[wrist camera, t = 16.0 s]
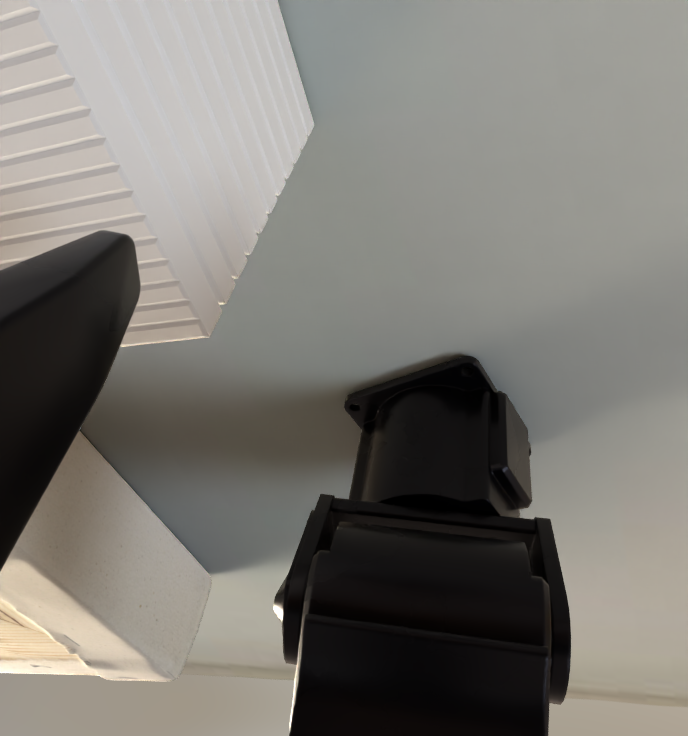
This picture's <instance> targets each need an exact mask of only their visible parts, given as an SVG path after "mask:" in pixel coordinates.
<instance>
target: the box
mask: <svg viewBox="0 0 688 736" xmlns="http://www.w3.org/2000/svg"><path fill="white" fill-rule="evenodd" d="M211 581H212V580H211V577H210V575H209V574H208V572H207V571H206V570H205V569H204V568H203V567H202V566H201V564H200V563H199V562H198V561H197V560H196V559H195V558H194V557H193V556H192V554H191V553H190V552H189V551H188V550H187V549H186V548H185V547H184V546H183V545H182V544H181V542H180V541H179V540H178V539H177V538H176V537H175V536H174V535H173V534H172V532H171V531H170V530H169V529H168V528H167V527H166V526H165V525H164V524H163V523H162V521H161V520H160V519H159V518H158V517H157V516H156V515H155V514H154V513H153V512H152V511H151V510H150V508H149V507H148V506H147V504H146V503H145V502H144V501H143V500H142V499H141V498H140V497H139V496H138V495H137V494H136V493H135V492H134V490H133V489H132V488H131V487H130V486H129V485H128V484H127V483H126V482H125V481H124V480H123V478H122V477H121V476H120V475H119V474H118V473H117V472H116V471H115V470H114V469H113V467H112V466H111V465H110V464H109V463H108V462H107V461H106V460H105V459H104V458H103V457H102V455H101V454H100V453H99V452H98V451H97V450H96V449H95V447H94V446H93V445H92V444H91V443H90V442H89V441H88V440H87V438H86V437H85V436H84V435H83V434H82V433H81V432H80V431H79V432H78V433H77V435H76V437H75V439H74V441H73V442H72V444H71V446H70V448H69V450H68V451H67V453H66V455H65V457H64V458H63V460H62V462H61V464H60V466H59V467H58V469H57V471H56V473H55V475H54V476H53V478H52V480H51V482H50V484H49V485H48V487H47V489H46V491H45V493H44V494H43V496H42V498H41V500H40V502H39V503H38V505H37V507H36V509H35V511H34V512H33V514H32V516H31V518H30V519H29V521H28V523H27V525H26V527H25V528H24V530H23V532H22V534H21V536H20V537H19V539H18V541H17V543H16V545H15V546H14V548H13V550H12V552H11V554H10V555H9V557H8V559H7V561H6V563H5V564H4V566H3V568H2V570H1V571H0V673H32V674H70V675H100V676H101V677H102V678H105V679H108V680H140V681H174V680H176V679H177V678H178V677H179V676H180V675H181V673H182V670H183V668H184V666H185V663H186V661H187V658H188V655H189V653H190V650H191V648H192V645H193V642H194V640H195V637H196V634H197V632H198V628H199V625H200V622H201V619H202V616H203V613H204V609H205V606H206V603H207V600H208V596H209V593H210V588H211V584H212V582H211Z"/></svg>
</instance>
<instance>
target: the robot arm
mask: <svg viewBox="0 0 688 736" xmlns="http://www.w3.org/2000/svg"><path fill="white" fill-rule="evenodd" d="M140 289H141V284H140V276H139V269H138V262H137V255H136V248H135V244H134V241H133V239H132V238H131V237H130V236H129V235H127V234H123V233H117V232H112V231H107V230H100V231H97V232H94V233H92V234H89V235H87V236H84V237H82V238H79V239H77V240H74V241H72V242H69V243H67V244H64V245H62V246H59V247H57V248H54V249H52V250H49V251H47V252H45V253H42V254H40V255H37V256H35V257H32V258H30V259H27V260H25V261H22V262H20V263H17V264H15V265H12V266H10V267H7V268H5V269H2V270H0V571H1V570H2V568H3V566H4V564H5V563H6V561H7V559H8V557H9V555H10V554H11V552H12V550H13V548H14V546H15V545H16V543H17V541H18V539H19V537H20V536H21V534H22V532H23V530H24V528H25V527H26V525H27V523H28V521H29V519H30V518H31V516H32V514H33V512H34V511H35V509H36V507H37V505H38V503H39V502H40V500H41V498H42V496H43V494H44V493H45V491H46V489H47V487H48V485H49V484H50V482H51V480H52V478H53V476H54V475H55V473H56V471H57V469H58V467H59V466H60V464H61V462H62V460H63V458H64V457H65V455H66V453H67V451H68V450H69V448H70V446H71V444H72V442H73V441H74V439H75V437H76V435H77V433H78V432H79V430H80V428H81V426H82V424H83V423H84V421H85V419H86V417H87V415H88V414H89V412H90V410H91V408H92V406H93V405H94V403H95V401H96V399H97V397H98V395H99V393H100V392H101V390H102V388H103V386H104V383H105V381H106V379H107V377H108V374H109V372H110V370H111V367H112V365H113V362H114V360H115V357H116V355H117V352H118V350H119V347H120V345H121V342H122V340H123V337H124V335H125V332H126V330H127V327H128V325H129V322H130V320H131V317H132V315H133V312H134V310H135V308H136V305H137V303H138V300H139V296H140ZM465 367H470V368H472V369H468V370H467V369H464V368H465ZM354 404H358V405H354ZM344 408H345V410H346V411H347V413H348V414H349V415H350V416H351V417H352V419H353V420H354V421H355V422H356V423H357V425H358V426H359V427H360V428H361V429H362V432H361V437H360V442H359V447H358V453H357V458H356V463H355V468H354V473H353V479H352V484H351V489H350V494H349V499H341V498H335V496H334V495H325V494H320V497H319V500H318V502H317V505H316V508H315V510H312V511H311V513H310V516H309V519H308V520H307V524H306V527H305V530H304V532H303V535H302V538H301V541H300V543H299V546H298V549H297V551H296V554H295V557H294V560H293V562H292V565H291V568H290V571H289V573H288V575H287V577H286V578H285V580H284V582H283V583H282V585H281V587H280V589H279V590H278V592H277V594H276V596H275V600H274V612H275V614H276V615H277V617H278V618H279V620H280V621H281V623H282V634H283V653H284V659H285V661H286V663H289V664H296V665H297V666H296V675H295V684H294V692H293V701H292V710H291V719H290V734H289V736H548V722H549V703H553V704H561V703H562V702H563V701H564V698H565V695H566V691H567V686H568V680H569V672H570V657H571V630H570V615H569V606H568V600H567V595H566V590H565V585H564V581H563V576H562V572H561V567H560V562H559V558H558V553H557V548H556V544H555V539H554V534H553V530H552V525H551V520H550V519H547V518H537V517H535V518H534V519H524V518H520V509H523V508H528V507H529V506H530V504H531V502H532V492H531V476H530V460H529V456H530V455H531V445H530V443H529V441H528V430H527V428H526V426H525V424H524V423H523V421H522V419H521V418H520V416H519V415H518V413H517V411H516V410H515V408H514V406H513V405H512V403H511V401H510V400H509V398H508V397H507V395H506V394H505V393H503V392H501V391H497V389H496V388H495V386H494V385H493V383H492V381H491V380H490V378H489V377H488V375H487V373H486V372H485V370H484V368H483V367H482V365H481V364H480V362H479V361H478V360H477V359H476V358H474V357H471V356H464V357H461V358H457V359H454V360H451V361H448V362H445V363H442V364H439V365H436V366H433V367H430V368H427V369H424V370H421V371H418V372H415V373H412V374H409V375H406V376H403V377H400V378H397V379H394V380H391V381H388V382H385V383H382V384H379V385H376V386H373V387H370V388H367V389H364V390H361V391H358V392H355V393H352V394H350V395H348V396H347V397H346V400H345V404H344Z"/></svg>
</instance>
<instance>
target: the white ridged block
mask: <svg viewBox="0 0 688 736" xmlns="http://www.w3.org/2000/svg"><path fill="white" fill-rule="evenodd" d="M313 127H314V122H313V119H312V115H311V112H310V108H309V105H308V102H307V98H306V95H305V92H304V88H303V85H302V82H301V78H300V75H299V71H298V68H297V65H296V61H295V58H294V55H293V51H292V48H291V45H290V41H289V38H288V34H287V31H286V28H285V24H284V21H283V18H282V14H281V11H280V7H279V4H278V1H277V0H0V270H2V269H5V268H7V267H10V266H12V265H15V264H17V263H20V262H22V261H25V260H27V259H30V258H32V257H35V256H37V255H40V254H42V253H45V252H47V251H49V250H52V249H54V248H57V247H59V246H62V245H64V244H67V243H69V242H72V241H74V240H77V239H79V238H82V237H84V236H87V235H89V234H92V233H94V232H97V231H100V230H107V231H112V232H117V233H123V234H127V235H129V236H130V237H131V238H132V239H133V241H134V244H135V248H136V255H137V262H138V269H139V276H140V284H141V289H140V296H139V300H138V303H137V305H136V308H135V310H134V312H133V315H132V317H131V320H130V322H129V325H128V327H127V330H126V332H125V335H124V337H123V340H122V342H121V345H120V347H125V346H134V345H143V344H152V343H161V342H170V341H179V340H188V339H198V338H207V337H210V336H211V334H212V332H213V330H214V328H215V326H216V324H217V321H218V319H219V317H220V315H221V313H222V310H221V308H220V306H219V305H223V304H226V303H227V301H228V299H229V297H230V295H231V293H232V291H233V289H234V287H235V282H234V280H233V279H236V278H239V277H240V275H241V273H242V271H243V269H244V267H245V265H246V263H247V261H248V260H247V258H246V256H245V255H250V254H251V253H252V251H253V249H254V247H255V245H256V243H257V240H258V236H257V234H258V233H261V232H262V230H263V228H264V226H265V224H266V222H267V220H268V216H267V214H270V213H271V212H272V210H273V208H274V206H275V204H276V202H277V197H276V196H279V195H280V194H281V192H282V190H283V188H284V186H285V184H286V182H285V179H288V178H289V176H290V174H291V172H292V170H293V168H294V167H293V164H295V163H296V162H297V160H298V157H299V155H300V153H301V152H300V150H301V149H303V147H304V145H305V143H306V141H307V136H309V135H310V133H311V131H312V129H313Z"/></svg>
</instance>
